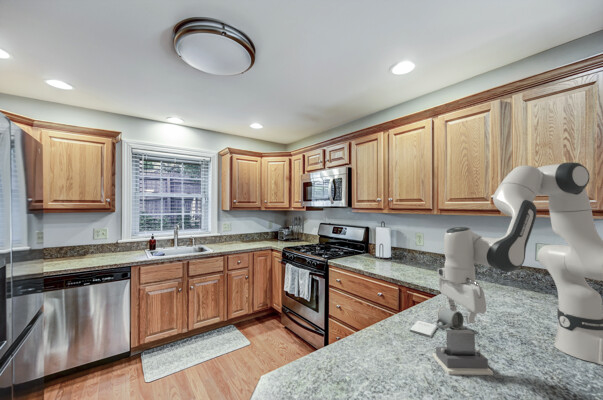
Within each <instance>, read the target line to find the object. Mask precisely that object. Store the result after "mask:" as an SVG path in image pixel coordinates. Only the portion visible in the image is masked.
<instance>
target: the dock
mask: <svg viewBox="0 0 603 400" xmlns="http://www.w3.org/2000/svg"><path fill="white" fill-rule="evenodd" d="M432 357H433V358H434V360H435V361H436V362H437V363H438V364H439V365H440V366H441V367H442V368H443V370H444V371H445V372H446V373H447V374H448V375H472V376H474V375H477V376H478V375H479V376H481V375H482V376H483V375H484V376H494V372H493V370H492V369H490V368H489V359H488V358H487V357H486V356H484V355H483V354H482V353H481V349H480V348H475V356H447V346H435V353H434V352H432Z"/></svg>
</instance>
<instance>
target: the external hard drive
mask: <svg viewBox="0 0 603 400" xmlns="http://www.w3.org/2000/svg"><path fill="white" fill-rule="evenodd" d="M437 329H438V326H437V324H433V323H430V322H426V321H422V320H417V321H416V322H415V323H414V324H413V325H412V327H411V328H410V329H409V332H410V333H413V334H416V335H419V336H423V337H426V338H429V339H430V338H432V336H433V335H434V334H435V332H436V330H437Z"/></svg>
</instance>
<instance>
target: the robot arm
mask: <svg viewBox="0 0 603 400" xmlns="http://www.w3.org/2000/svg"><path fill="white" fill-rule="evenodd" d="M589 182H590V172H589V170H588V168H587V167H585V166H584V165H583V164H581V163H579V162H562V163H554V164H547V165H543V166H539V167H535V166H533V165H519V166H516V167H514V168H513V169H512V170H511V171H510V172H509V173H508V174H507V175H506V176H505V177H504V178H503V180H502V181H501V182H500V183H499V185H498V187H497V188H496V189H495V191H494V194H493V195H492V196H493V197H492V201H493V204H494V206H495V207H496V209H498V211H499V212H501V213H503V214H504V215H506V216H508V217H511V221H510V222H509V226H508V228H507V231H506V233H505V235H504V236H501V237H498V238H496V237H487V236H482V235H480V234H477V233H475V232H474V231H473V230H471V228H470V227H467V226H466V227H465V226H459V227H457V226H455V227H451V228H449V229H447V230H445V233H444V235H443V236H444V237H443V254H444V257H445V260H444V263H443V264H444V266H443V267H441V268H437V275H438V289H439V291H440V294H441V295H443V296H445V297H446V301H447V303H448V308H449V309H450V310H451V311H458V310H457V306H456V303H457V304H458V305H461V306H462V307H463V308H465V309H467V310H466V311H467V312H468V314H467V315H465V320H466V322H468V324H475V321H476V320H475V317H476V316H477V314H484V313H486V312H487V303H486V302H487V301H486V296H485V292H484V290H483V288H482V286H481V285H480V283H479V282H478V281H476V268H475V267H476V266H475V264H477V265H478V264H479V265H481V266H486V267H489V268H493V269H495V270H500V271H501V272H502V271H503V272H504V273H505V272H506V273H510V272H511V273H512V272H515V271H516V270H518V269H519V268H521V267H522V265H523V264H524V262H525V259H526V249H527V247H528V246H527V245H528V243H529V239H530V238H531V237H530V236H531V234H532V231H533V228H534V225H535V223H536V219H537V214H538V212H537V211H538V210H537V207H536V205H535V204H534V200H535V199H536V197H537V196H548V211H549V217H550V222H551V229H552V232H553V233H555V234H556V235H557V236H559V237H560V238H562V239H563V240H565V242H566V245H565V244H546V245H543V246H541V247H540V249H539V250H538V252H537V260H538V262H539V264H540V265H541V266H543V267H544V269H545V270H546V271H547V272H548V273H549V274H550V276H551V278H552V279H553V282H554V284H555V286H556V290H557V299H558V308H557V311H556V316H557V319H558V321H557V326H556V336H555V337H554V347H555V348H556V349H557V350H559V351H560V352H562V353H564V354H567V355H568V356H571V357H574V358H576V359H580V360H583V361H586V362H591V363H595V364H599V365H601V366H603V299H602V296H601V294H600V293H599V292H598V291H597V290H596V289H595V288H593V287H591V286H590V284H589V283H588V282H587V280H586V279H589V280H590V279H591V280H593V281H602V282H603V239H602V237H601V236H600V235H599V232H598V231H597V228H596V225H595V220H594V217H593V216H594V215H593V211H592V209H593V208H592V205H591V201H590V198H589V194H588V192H587V189H586V187H587V186H588V184H589Z"/></svg>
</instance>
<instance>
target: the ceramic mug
mask: <svg viewBox="0 0 603 400" xmlns="http://www.w3.org/2000/svg"><path fill="white" fill-rule="evenodd" d="M464 321H465V320H464V314H463V313H462V312H460V311H459V310H457V311H451V310H450V309H449V307H441V308H439V310H438V312H437V320H436V322H435V323H436V324H435V325H437V328H439V329H442V330H448V329H450V328H452V330H461V328H463V326H464ZM439 323H442V324H443V325H440V324H439Z"/></svg>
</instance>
